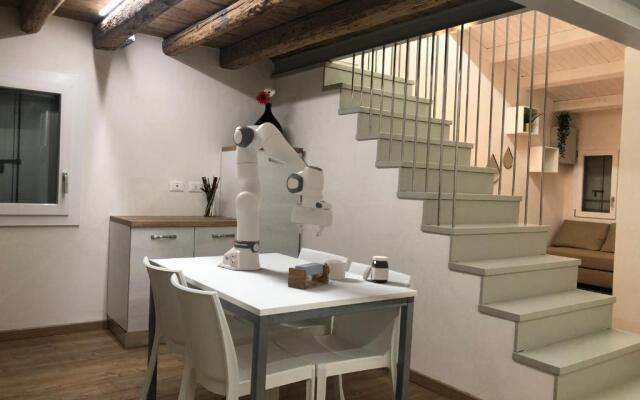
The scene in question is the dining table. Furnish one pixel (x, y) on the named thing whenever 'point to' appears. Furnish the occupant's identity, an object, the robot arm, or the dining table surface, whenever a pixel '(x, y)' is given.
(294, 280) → the wooden u-shaped block
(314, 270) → the blue-grey block
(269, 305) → the dining table surface
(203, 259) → the dining table surface
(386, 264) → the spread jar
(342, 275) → the mug
